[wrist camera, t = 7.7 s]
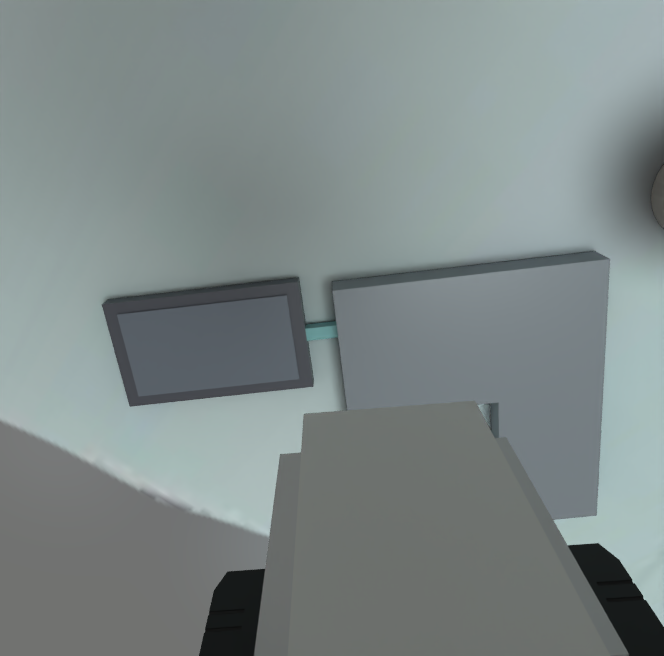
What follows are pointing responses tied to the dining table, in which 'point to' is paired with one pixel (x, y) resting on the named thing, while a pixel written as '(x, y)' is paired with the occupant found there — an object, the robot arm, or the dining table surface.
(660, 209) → the coffee cup
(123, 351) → the phone
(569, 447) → the socket plate
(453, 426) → the block
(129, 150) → the dining table surface
